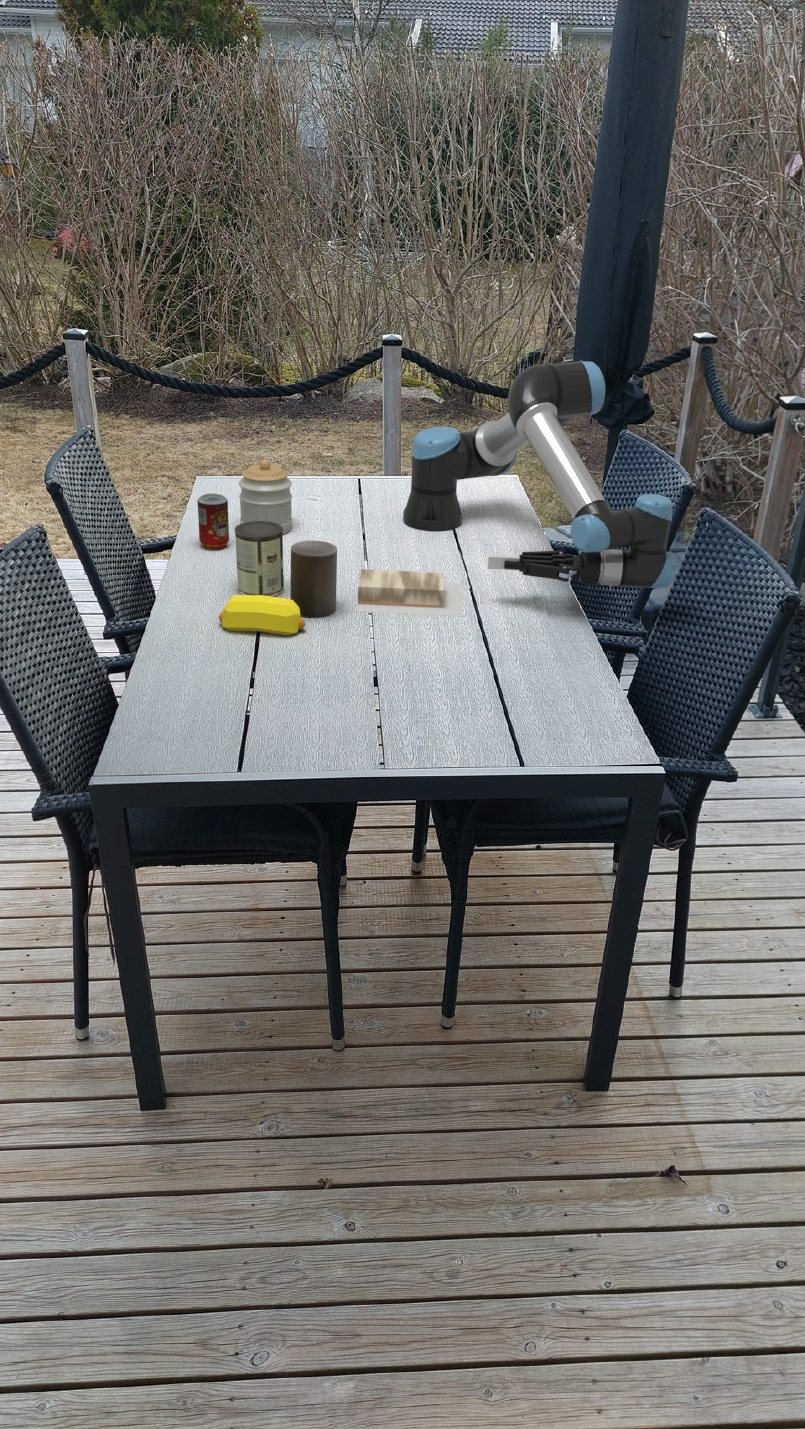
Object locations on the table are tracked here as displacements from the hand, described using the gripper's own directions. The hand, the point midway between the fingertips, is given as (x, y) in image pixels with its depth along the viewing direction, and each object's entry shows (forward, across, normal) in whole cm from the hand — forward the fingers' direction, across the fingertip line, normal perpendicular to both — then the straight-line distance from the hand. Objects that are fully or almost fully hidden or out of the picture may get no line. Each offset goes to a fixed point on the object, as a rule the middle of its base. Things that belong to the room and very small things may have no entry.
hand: (488, 561), depth 236 cm
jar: (+54, +41, -10) cm, 69 cm away
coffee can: (+49, +2, -10) cm, 50 cm away
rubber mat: (+16, 0, -10) cm, 19 cm away
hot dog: (+46, -18, -10) cm, 50 cm away
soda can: (+64, +27, -10) cm, 71 cm away
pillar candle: (+37, -7, -10) cm, 39 cm away
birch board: (+9, 0, -7) cm, 12 cm away
